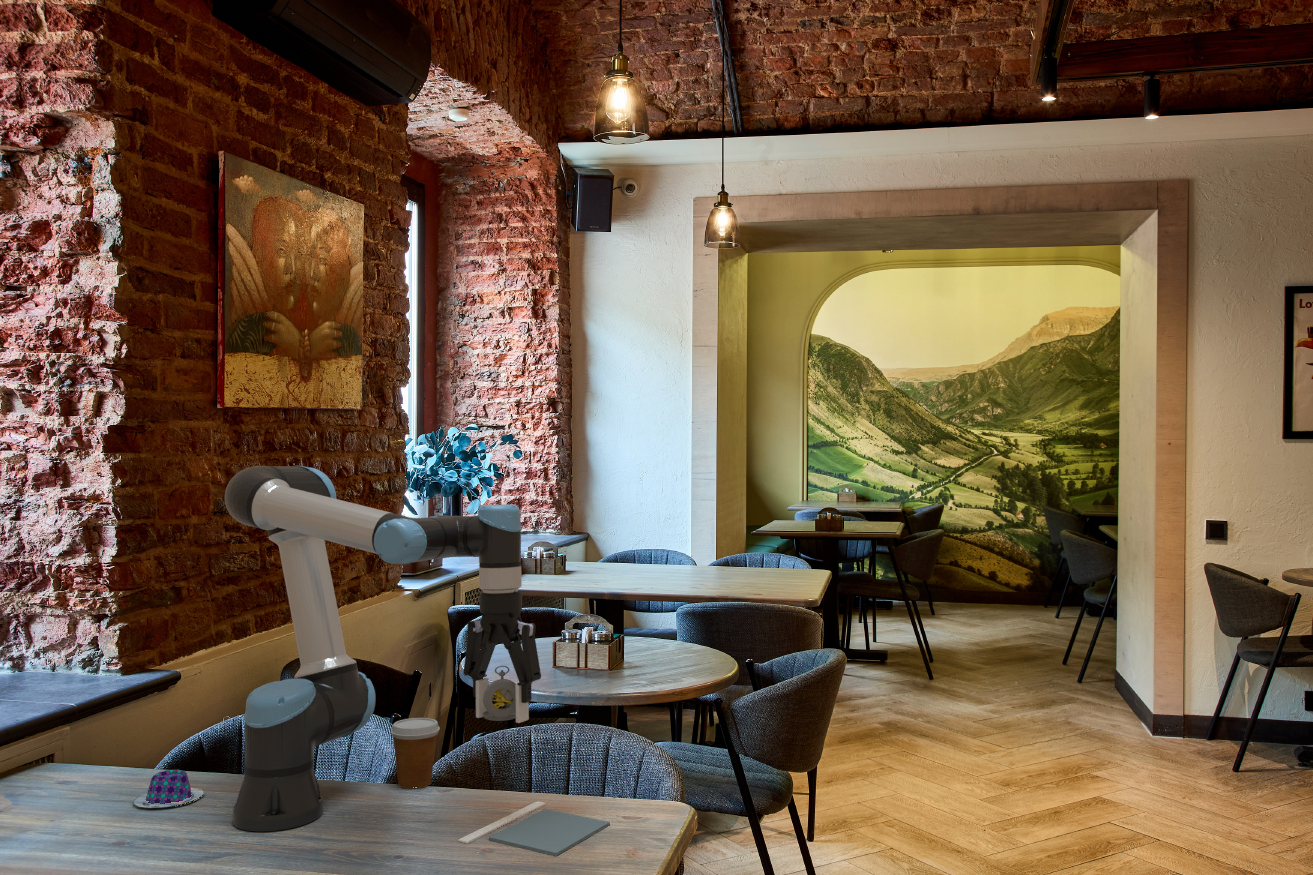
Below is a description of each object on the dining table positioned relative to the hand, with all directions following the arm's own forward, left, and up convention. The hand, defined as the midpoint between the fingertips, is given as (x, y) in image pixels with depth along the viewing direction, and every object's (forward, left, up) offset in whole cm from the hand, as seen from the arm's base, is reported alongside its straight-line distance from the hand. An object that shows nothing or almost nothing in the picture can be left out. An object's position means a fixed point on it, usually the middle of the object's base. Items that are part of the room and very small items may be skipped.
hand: (502, 718), depth 170 cm
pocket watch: (0, 0, -1) cm, 1 cm away
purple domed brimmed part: (-62, -22, -19) cm, 69 cm away
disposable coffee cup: (-28, +8, -18) cm, 35 cm away
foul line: (+1, 0, -18) cm, 18 cm away
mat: (+11, 0, -18) cm, 21 cm away
